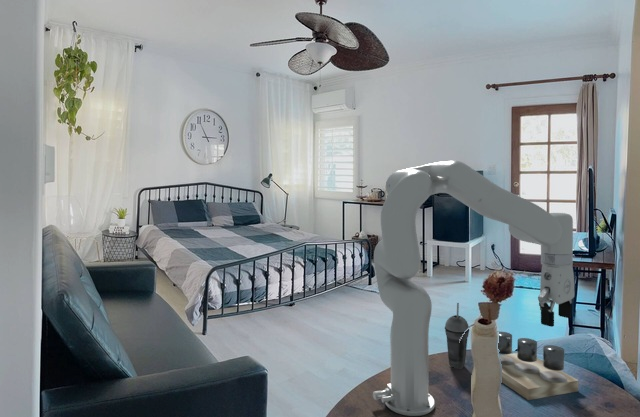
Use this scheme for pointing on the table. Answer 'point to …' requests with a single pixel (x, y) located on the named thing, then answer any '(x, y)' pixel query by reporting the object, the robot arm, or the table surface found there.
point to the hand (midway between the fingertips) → (556, 321)
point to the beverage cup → (456, 339)
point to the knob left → (505, 343)
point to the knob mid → (527, 350)
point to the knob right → (553, 357)
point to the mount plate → (535, 378)
